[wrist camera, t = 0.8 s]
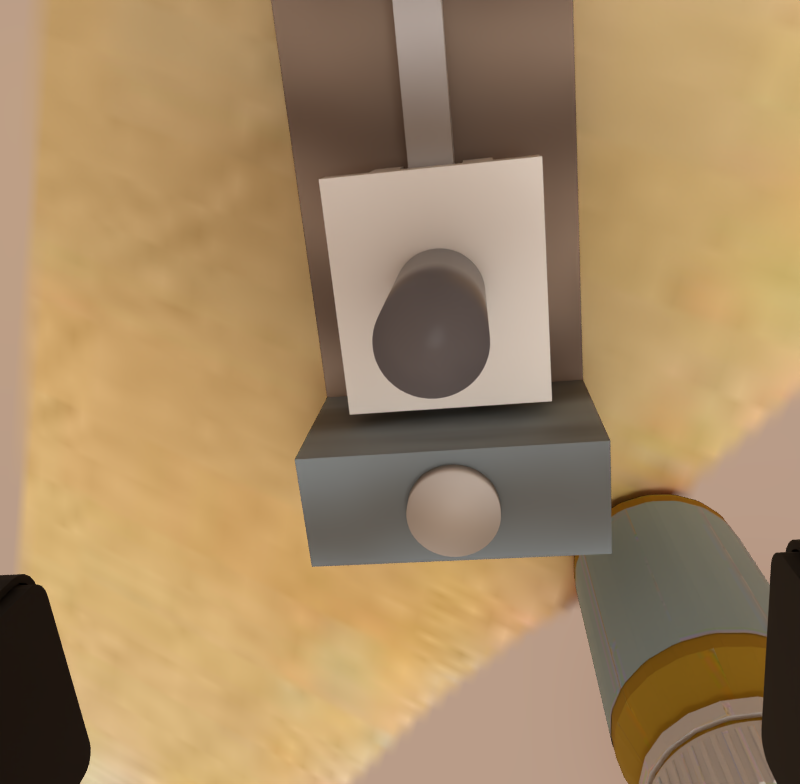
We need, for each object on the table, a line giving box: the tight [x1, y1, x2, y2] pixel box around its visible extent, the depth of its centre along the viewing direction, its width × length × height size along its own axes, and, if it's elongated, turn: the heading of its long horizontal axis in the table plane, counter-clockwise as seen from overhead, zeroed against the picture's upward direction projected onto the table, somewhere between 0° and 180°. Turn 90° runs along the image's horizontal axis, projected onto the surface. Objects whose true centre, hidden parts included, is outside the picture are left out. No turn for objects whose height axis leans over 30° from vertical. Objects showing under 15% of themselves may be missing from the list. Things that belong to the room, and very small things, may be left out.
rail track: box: [271, 0, 612, 567], centre depth 24 cm, size 28×10×8 cm, turn 6°
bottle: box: [574, 494, 777, 784], centre depth 26 cm, size 7×7×15 cm
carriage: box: [319, 155, 552, 415], centre depth 24 cm, size 8×7×9 cm
